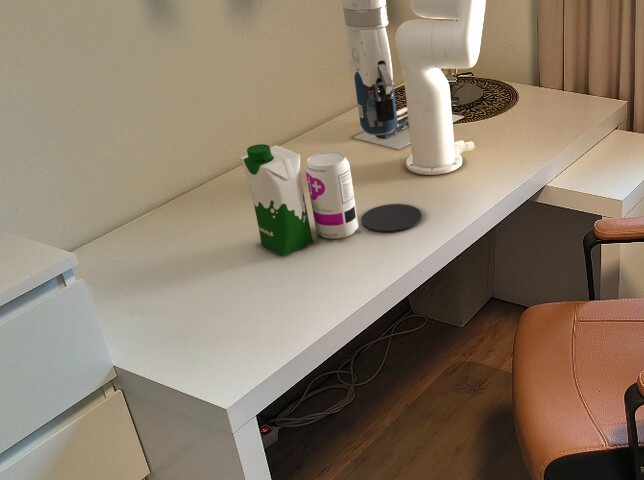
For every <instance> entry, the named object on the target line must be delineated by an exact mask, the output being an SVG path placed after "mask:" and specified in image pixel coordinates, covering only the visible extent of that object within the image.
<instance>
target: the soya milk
mask: <svg viewBox="0 0 644 480" xmlns="http://www.w3.org/2000/svg"><path fill="white" fill-rule="evenodd" d="M246 152H247V154H246V155H243V156H241V157H240V158H239V159H240V162H241V164H242V166H243V170H244V172H245V175H246V178H247V180H248V181H247V182H248V185H249V190H250V193H251V198H252V203H253V207H254V208H253V209H254V212H255V217H256V222H257V226H258V231H259V232H258V233H259V238H260V243H261V246H262V247H264V248H266V249H268V250H270V251H272V252H274V253H276V254H278V255H280V256H282V257H284V256H287V255H289V254H291V253H293V252H295V251H299V250H300V249H302V248H304V247H307V246H309V245H311V244H313V243H314V238H313V233H312V229H311V225H310V219H309V214H308V209H307V203H306V199H305V193H304V186H303V181H302V175H301V154H299V153H297V152H294V151H292V150H289V149H287V148H285V147H282V146H279V145H277V144H275V145H273V146H270V145H268V144H263V143H261V144H259V143H258V144H254V145H250V146H248V148H247V149H246Z"/></svg>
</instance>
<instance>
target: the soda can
mask: <svg viewBox="0 0 644 480" xmlns="http://www.w3.org/2000/svg"><path fill="white" fill-rule="evenodd" d="M358 70H359V69H357V71H358ZM353 78H354V86H355V87H354V88H355V93H356V101H357V102H356V103H357V109H358V110H357V111H358V117H359V124H360V127H361V129H362V130H363V131H364V132H366V133H367V134H370V135H385V134H389V133H391V132H393V131H394V130H395V127H396V125H397V122H398V121H397V112H396V111H397V106H396V103H397V102H396V95H395V86H394V85H395V84H393V88H392V90H393V91H392V95H393V99H392V101H393V110H394V119H393V120H389V121H384V122H378V121H377V115H376V107H375V100H377V99H376V95H375V92H374V87H373V85H372V86H371V87H368V86H366V85H365V84H363V81H362V78H361V76H360V74H359V73H358V72H356V73H355V76H353ZM378 82H383V81H382V79H381V78H377V81H376V83H378ZM392 82H393V83H394V78H393V79H392ZM378 88H379V92H380V91H381V89H382V88H383V86H379V87H378Z"/></svg>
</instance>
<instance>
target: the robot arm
mask: <svg viewBox="0 0 644 480" xmlns="http://www.w3.org/2000/svg"><path fill="white" fill-rule="evenodd" d="M486 2H487V0H409V6H410V9H411V11H412V12H413V14H415V15H416V16H418V17H421V18H426V19H411V20H406V21H404V22H403V23H401V24H400V25H399V26H398V27H397V30H396V32H395V37H394V43H395V50H396V53H397V56H398V60H399V64H400V67H401V68H400V69H401V72H402V77H403V83H404V91H405V101H406V102H405V103H406V107H407V111H408V121H409V130H410V139H411V143H410V145H411V146H410V149H411V155H409V156H408V157H407V158H406V159H405V167H406V168H407V170H409V171H410V172H412V173H414V174H418V175H423V176H437V175H438V176H439V175H443V174H449V173H452V172H453V171H456V170H458V169H459V168H460V167H462V165H463V156H462V155H463V152H464V153H465V152H469V151H473V150H475V148H476V147H475V143H474V141H473V140H472V141H471V140H470V141H467V142H465V141H464V140H463V139H461V140H458V141H455V140H454V139H455V137H454V125H453V123H452V114H453V112H452V101H451V88H450V85H449V81H448V79H447V78H446V76H445V75H444V73H443V72H442V70H441V69H449V70H467V69H468V70H469V69H471V68H473V67H474V66H475V65H476V64H477V62H478V59H479V55H480V49H481V43H482V35H483V26H484V19H485V13H486ZM341 3H342V10H343V18H344V25H345V28H346V33H347V34H346V35H347V50H348V62H349V71H350V74H351V75H352V77H354V76H355V73H356V72H358V73H359V74H360V76H361V78H362V81H363V84H365V85H366V86H368V87H371V86H372V85H373V87H374V92H375V95H376V99H377V100H375V107H376V115H377V121H378V122H384V121H389V120H393V119H394V110H393V101H392V99H393V95H392V91H393V90H392V88H393V85H394V81H393V82H392V79H393V80H394V78H393V77H394V75H393V64H392V55H391V50H390V45H389V40H388V39H389V37H388V34H387V29H386V27H387V26H388V25H389V18H388V8H387V0H341ZM357 69H359V70H358V71H357ZM377 78H381V79H382V81H383V82H378V83H376V81H377ZM379 86H383V88H382V89H381V91H380V92H379V88H378V87H379Z"/></svg>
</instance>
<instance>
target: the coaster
mask: <svg viewBox="0 0 644 480" xmlns="http://www.w3.org/2000/svg"><path fill="white" fill-rule="evenodd" d="M422 218H423V214H422V212H421V210H420V209H418V208H417V207H415V206H413V205H409V204H404V203H392V204H391V203H390V204H384V205H379V206H376V207H372V208H371V209H369V210H367V211H366V212H364V213H363V214H362V216H361V218H360V220H361V225H362V227H364V228H365V229H366V230H368V231H371V232H375V233H383V234H385V233H386V234H389V233H399V232H403V231H406V230H409V229H411V228H414V227H415V226H417V225H418V224H419V223H420V222H421V221H422Z"/></svg>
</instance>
